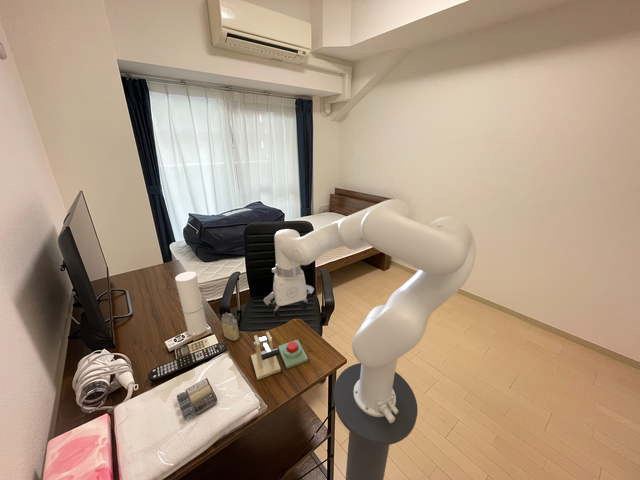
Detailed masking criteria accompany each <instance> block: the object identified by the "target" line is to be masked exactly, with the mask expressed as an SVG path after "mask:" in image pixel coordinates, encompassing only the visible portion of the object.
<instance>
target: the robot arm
mask: <svg viewBox="0 0 640 480" xmlns="http://www.w3.org/2000/svg"><path fill="white" fill-rule="evenodd" d="M273 241H274V253H275V254H274V255H275V267H273V268H271V273H272V274H274V275H273V283H272V284H273V285H272V292H271V293H269V294H268V295H267V296H266V297H264V298H263V302H264V304H265V305H266V306H267V307H268V308H269V309H271V310H273V312H272V313H273V317H274V318H276V320H277V322H278V321H280V320H281V314H280V313H281V311H280V307H284V306H286V305H291V304H295V303H299V304H300V305H299V306H300V307H299V308H300V310H301V311H302V313H303V314H305V313H306V312H307V310H306V309H307V307H308V305H307V303H308V302H309V299H311V297H312V294H313V293H314V291H315V288H314V287H313V286H312V285H309V284H306V278H305V273H304V271H303V269H302V268H301V266H308V265H310V264H311V263H313V262H314V261H316V260H317V259H319V258H320V257H321V256H323V255H324V254H326V253H327V252H329V251H332V250H335V249H337V248H340V247H344V246H345V247H346V248H347V249H349V250H353V251H355V250H359V249H362V248H365V247H368V246H371V247H372V248H374V249H375V250H377V251H379V252H380V253H383V254H385V255H387V256H389V257H391V258H394V259H395V260H398V261H400V262H402V263H404V264H406V265H408V266H411V267H413V268H415V269H418V270H417V271H416V272H415V273H414V274H413V275H412V276H411V277H410V278H409V279H407V281H405V282H404V283H403V284H402V285H401V286H400V287H398V288H397V289H396V290H394V291H393V292H392V293H391V295H390V296H389V298H388V299H387V301H386V303H385V304H380V305H377V306H375V307H374V308H372V309H371V310H370V311H369V313H368V314H367V315H366V317H365V318H364V320H363V322H362V323H361V325H360V326H359V328H358V330H357V331H356V333H355V334H354V336H353V338H352V342H351V348H352V353H353V355H354V357H355V359H356V360H357V362H358V363H361V373H360V379H359V380H358V381H357V383H356V384H355V386H354V399H355V402H356V404H357V405H358V407H359V408H360V409H361V410H362V411H363V412H365V413H366V414H368V415H371V416H374V417H384V416H385V417H386V418H387V420H388V421H389V422H390V423H393V422H394V421H395V417H394V416H393V414H392V413H391V412H392V411H393V412H394V414H397V413H398V412H399V411H398V409H397V408H396V407H395V404H396V395H395V392H394V390H393V382H394V375H395V372H396V369H397V363H398V359H399V358H401V357H403V356H404V355H406V354H407V353H408V352H410V351H411V350H413V349H414V348H415V347H416V346H417V345H418V344H419V343H420V342H421V340H422V339H423V337H424V335H425V332H426V329H427V326H428V323H429V320H430V317H431V315H432V314H433V313H434V312H435V311H436V310H438V308H440V307H441V306H443V304H445V303H446V302H447V301H448V300H449V299H451V298H452V297H453V296H454V295H456V293H457V292H458V291H460V289H462V287H463V286H465V283H466V282H467V280H468V279H469V277H470V274H471V273H472V271H473V267H474V264H475V261H476V253H477V252H476V251H477V249H476V242H475V238H474V235H473V232H472V230H471V228H470V227H469V225H468V223H466V221H464V220H463V219H462V218H459V217H457V216H454V215H446V216H442V217H439V218H436V219H434V220H433V221H432V222H430V224H428V225H427V224H424V223H423V222H422V223H421V222H419V221H416V220H414V215H413V211H412V209H411V206H410V205H409V204H408V203H407V202H405V201H404V200H403V199H399V198H390V199H386V200H383V201H381V202H379V203H376V204H374V205H371V206H369V207H366V208H364V209H361V210H359V211H356V212H354V213H351V214H349V215H347V216H344V217H342V218H340V219H339V220H336V221H334V222H331V223H329V224H326V225H323V226H321V227H318V228H317V229H314V230H312V231H310V232H308V233H307V234H305V235H302V236H300V233H299V231H297V230H296V229H292V228H291V229H290V228H285V229H280V230H278V231H276V233H274V240H273ZM273 299H274V300H273ZM271 300H273V301H271Z"/></svg>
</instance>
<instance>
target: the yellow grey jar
mask: <svg viewBox="0 0 640 480" xmlns="http://www.w3.org/2000/svg"><path fill="white" fill-rule="evenodd" d="M221 316H222V317H221V327H222V332H223V337H225V338H226V340H231V341H232V342H233V341H234V342H235V341H237V340H239V339H240V331H239V326H238V321H237V319H236V318H235V315H233V314H232V313H231V312H230V313H228V312H225V313H223V314H222V315H221Z"/></svg>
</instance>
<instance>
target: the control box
mask: <svg viewBox="0 0 640 480" xmlns="http://www.w3.org/2000/svg"><path fill="white" fill-rule="evenodd" d="M291 342H296V343H297V351H296V352H294V353H290V352H288V350H287V345H288V343H289V342H286V343H283V344H280V345H277V349H278V351H279V355H280V356H281V359H282V361H283V364H284V366H285V369H290V368H293V367H296V366H298V365H301V364H303V363H306V362H308V361H309V358H308V355H307V354H306V352H305V350H304V348H303V346H302V344H301V342H300V341H299V339H295V340H292V341H291Z"/></svg>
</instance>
